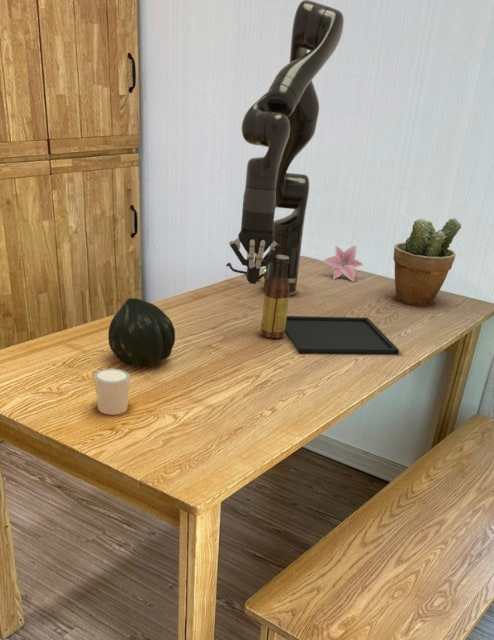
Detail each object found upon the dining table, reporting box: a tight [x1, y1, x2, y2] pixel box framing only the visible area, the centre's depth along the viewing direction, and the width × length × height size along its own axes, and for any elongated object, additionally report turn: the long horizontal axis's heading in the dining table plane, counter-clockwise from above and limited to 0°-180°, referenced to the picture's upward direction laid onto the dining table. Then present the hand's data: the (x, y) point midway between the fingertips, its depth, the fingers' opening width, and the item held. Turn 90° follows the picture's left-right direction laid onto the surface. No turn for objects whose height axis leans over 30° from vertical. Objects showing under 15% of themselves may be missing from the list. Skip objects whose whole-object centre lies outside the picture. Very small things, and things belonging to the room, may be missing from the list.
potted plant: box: [392, 218, 462, 307], centre depth 211 cm, size 18×19×25 cm
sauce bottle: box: [260, 255, 290, 339], centre depth 174 cm, size 6×6×20 cm
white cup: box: [93, 368, 131, 416], centre depth 135 cm, size 7×7×7 cm
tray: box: [284, 315, 400, 355], centre depth 183 cm, size 26×24×1 cm
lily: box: [323, 244, 364, 282], centre depth 232 cm, size 12×12×10 cm
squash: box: [107, 297, 176, 367], centre depth 155 cm, size 14×15×15 cm
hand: (252, 282), depth 171 cm, fingers closed
